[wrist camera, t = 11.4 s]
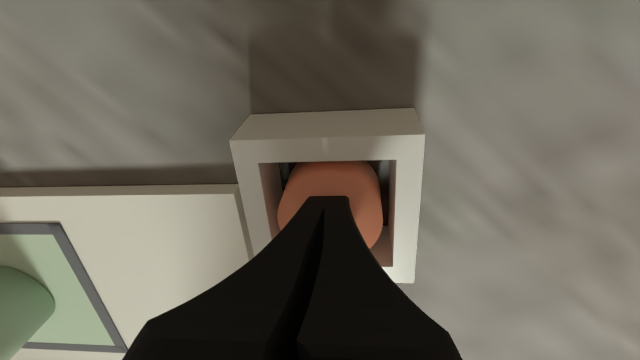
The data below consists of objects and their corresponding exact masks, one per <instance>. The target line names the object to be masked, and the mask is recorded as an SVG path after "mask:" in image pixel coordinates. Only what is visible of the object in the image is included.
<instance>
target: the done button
mask: <svg viewBox="0 0 640 360" xmlns="http://www.w3.org/2000/svg"><path fill="white" fill-rule="evenodd" d="M309 196H347V197H348V198H349V204H350V208H351V212H352V215H353V218H354V220H355V222H356V225H357V227H358V229H359V231H360V233H361V235H362V237H363V239H364V241H365V242H366V244H367V246H368V248H369V249H370V248H371V247H372V246H373V245H374V244H375V243H376V241H377V240H378V238H379V236H380V234H381V230H382V226H383V215H382V205H381V194H380V185H379V180H378V178H377V175H376V173H375V171H374V170H373V168H372V167H371V166H370V165H369V164H368V163H367V162H366V161H365V160H360V161H318V162H298V163H297V164H296V165H295V167H294V168H293V170H292V171H291V174H290V176H289V179H288V182H287V184H286V187H285V190H284V193H283V196H282V198H281V201H280V204H279V207H278V214H277V218H278V225H279V228H280V231H281V230H282V229H283V228H284V227H285V225H286V224H287V223H288V222H289V221H290V220H291V218H292V217H293V216H294V215H295V213H296V212H297V211H298V210H299V208H300V207H301V206H302V204H303V203H304V202H305V200H306V199H307V198H308V197H309Z"/></svg>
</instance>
